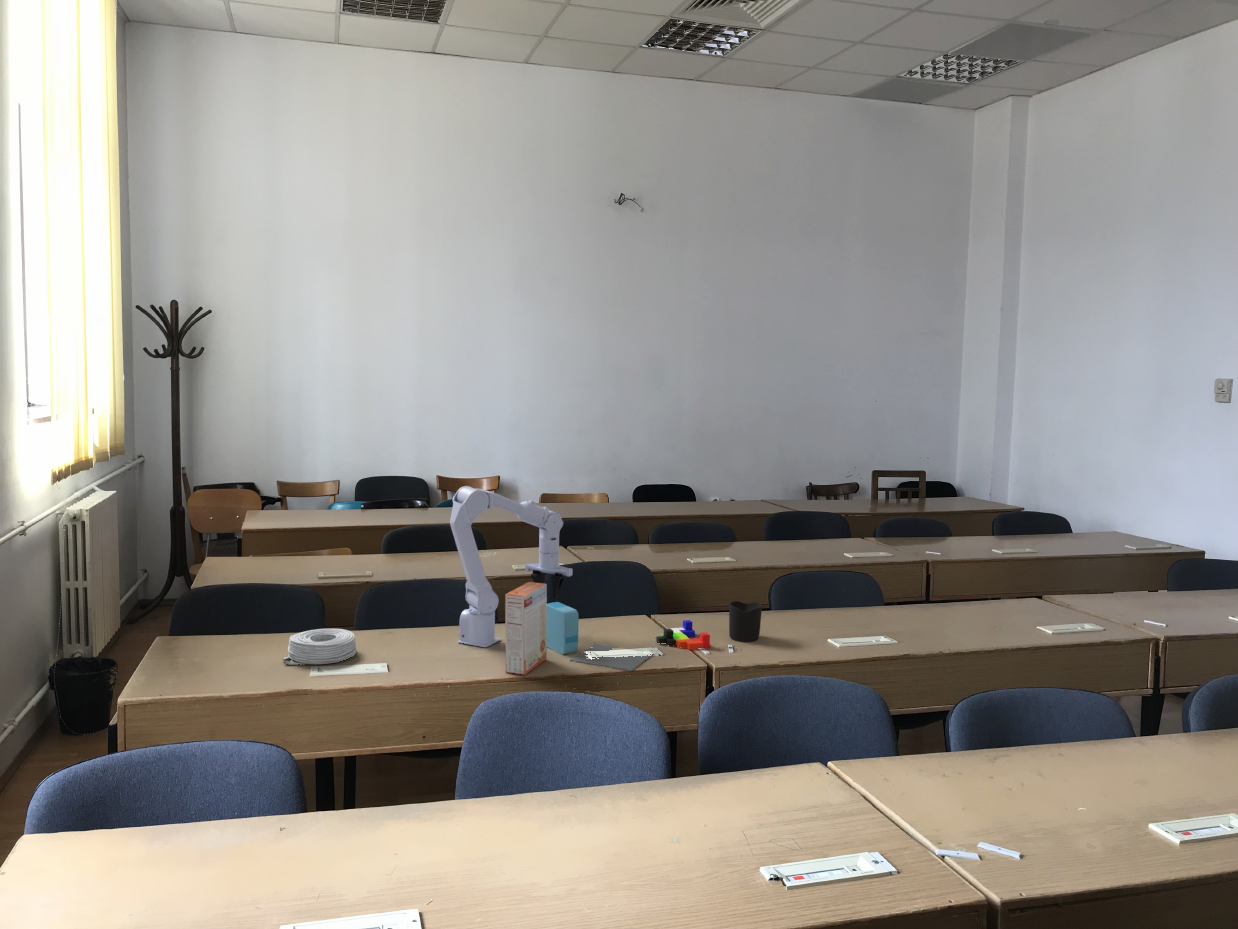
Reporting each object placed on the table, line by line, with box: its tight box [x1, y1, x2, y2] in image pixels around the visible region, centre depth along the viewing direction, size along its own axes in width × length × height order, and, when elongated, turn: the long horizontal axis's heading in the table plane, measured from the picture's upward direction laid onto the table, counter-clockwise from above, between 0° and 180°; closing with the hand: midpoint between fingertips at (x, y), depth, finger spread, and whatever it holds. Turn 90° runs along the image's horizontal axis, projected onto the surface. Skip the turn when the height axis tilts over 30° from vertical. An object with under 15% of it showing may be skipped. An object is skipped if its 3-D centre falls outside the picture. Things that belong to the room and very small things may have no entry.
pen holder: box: [728, 600, 763, 643], centre depth 275 cm, size 9×9×10 cm
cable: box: [282, 628, 357, 666], centre depth 251 cm, size 18×18×6 cm
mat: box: [569, 643, 651, 672], centre depth 256 cm, size 18×16×1 cm
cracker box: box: [504, 581, 548, 676], centre depth 246 cm, size 14×6×21 cm, turn 160°
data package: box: [547, 601, 580, 655], centre depth 261 cm, size 12×4×12 cm, turn 36°
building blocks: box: [655, 619, 711, 651], centre depth 270 cm, size 15×13×4 cm
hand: (548, 597), depth 276 cm, fingers open, 4 cm apart
